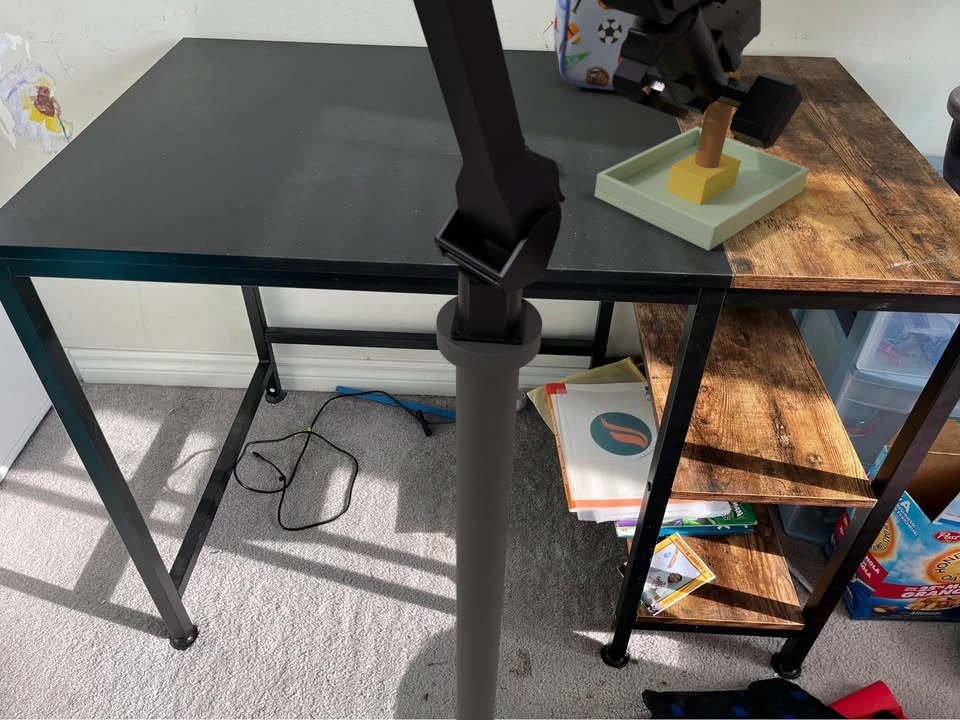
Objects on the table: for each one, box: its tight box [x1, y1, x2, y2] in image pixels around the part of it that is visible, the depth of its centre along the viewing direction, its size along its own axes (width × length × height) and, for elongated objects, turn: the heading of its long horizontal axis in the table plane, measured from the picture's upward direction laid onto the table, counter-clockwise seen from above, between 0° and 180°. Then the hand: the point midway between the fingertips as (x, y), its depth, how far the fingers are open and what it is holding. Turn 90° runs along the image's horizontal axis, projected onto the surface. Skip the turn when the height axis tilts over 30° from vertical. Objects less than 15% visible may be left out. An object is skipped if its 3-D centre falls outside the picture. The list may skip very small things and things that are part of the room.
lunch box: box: [553, 0, 745, 92], centre depth 103 cm, size 28×10×22 cm, turn 89°
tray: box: [593, 126, 810, 251], centre depth 85 cm, size 19×15×3 cm
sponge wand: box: [667, 69, 742, 205], centre depth 81 cm, size 7×4×13 cm, turn 133°
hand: (720, 128), depth 81 cm, fingers open, 9 cm apart
